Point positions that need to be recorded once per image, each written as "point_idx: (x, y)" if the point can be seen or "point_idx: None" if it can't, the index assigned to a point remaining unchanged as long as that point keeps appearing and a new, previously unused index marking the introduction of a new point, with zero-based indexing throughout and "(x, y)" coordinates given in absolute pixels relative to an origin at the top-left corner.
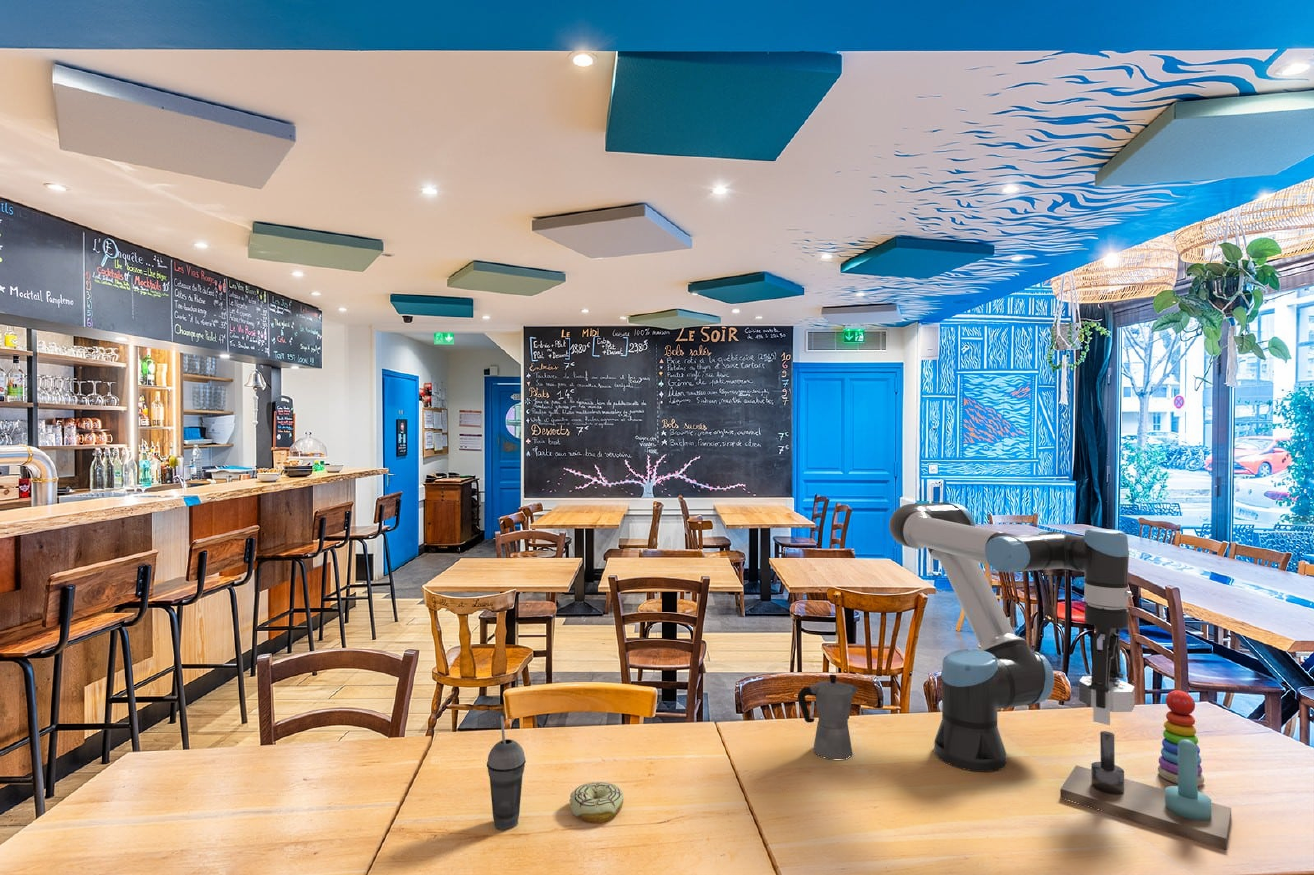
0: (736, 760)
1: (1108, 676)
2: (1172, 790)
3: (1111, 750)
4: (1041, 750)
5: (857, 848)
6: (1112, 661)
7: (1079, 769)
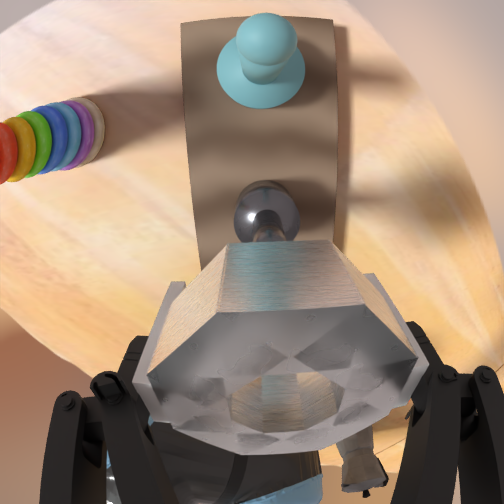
0: (403, 438)
1: (455, 433)
2: (260, 95)
3: (282, 232)
4: (154, 321)
5: (498, 340)
6: (167, 499)
7: None
